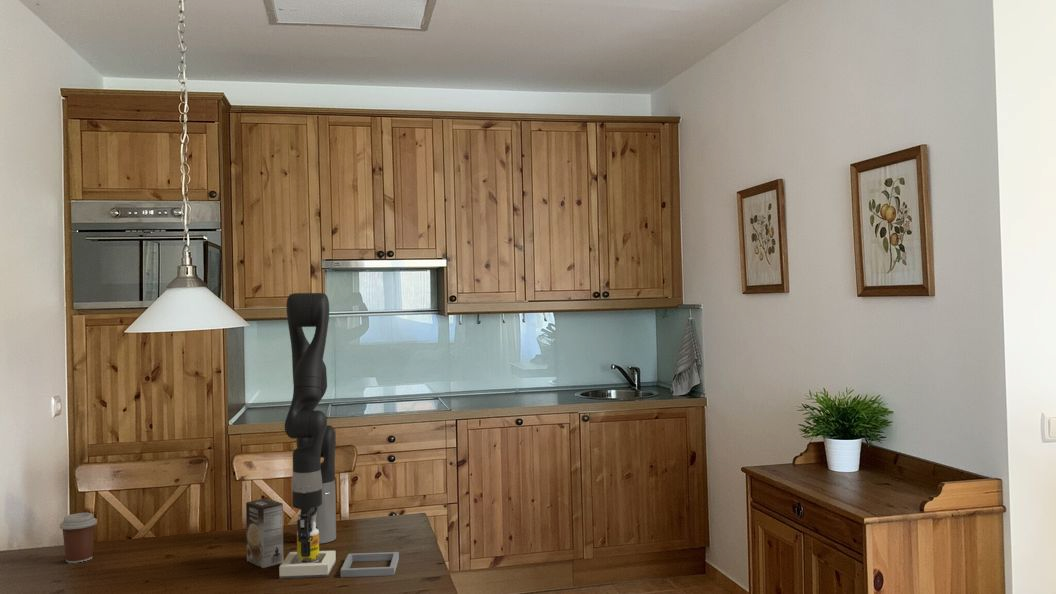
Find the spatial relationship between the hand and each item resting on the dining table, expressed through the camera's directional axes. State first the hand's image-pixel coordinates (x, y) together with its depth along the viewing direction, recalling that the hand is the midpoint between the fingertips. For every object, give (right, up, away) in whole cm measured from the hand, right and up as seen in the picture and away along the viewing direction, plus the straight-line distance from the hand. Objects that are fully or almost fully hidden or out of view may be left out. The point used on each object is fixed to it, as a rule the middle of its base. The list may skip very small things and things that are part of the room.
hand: (308, 552), depth 215 cm
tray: (+16, -4, +1) cm, 17 cm away
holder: (0, -5, 0) cm, 5 cm away
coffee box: (-13, -5, +7) cm, 16 cm away
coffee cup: (-66, -6, +12) cm, 67 cm away
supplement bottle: (0, -3, 0) cm, 3 cm away
